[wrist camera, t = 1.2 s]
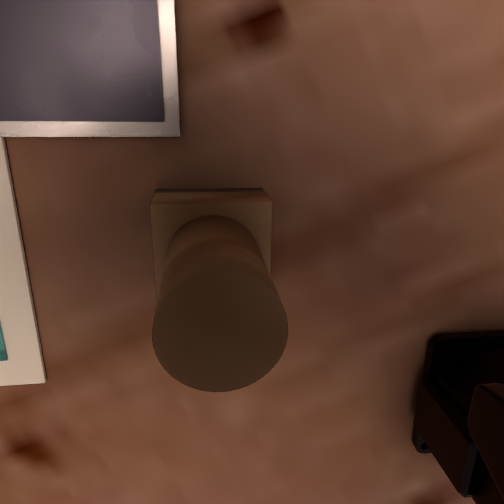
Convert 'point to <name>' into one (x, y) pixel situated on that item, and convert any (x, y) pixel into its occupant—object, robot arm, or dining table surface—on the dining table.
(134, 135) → the ink pad
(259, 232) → the stamp
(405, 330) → the dining table surface
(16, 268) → the print card
